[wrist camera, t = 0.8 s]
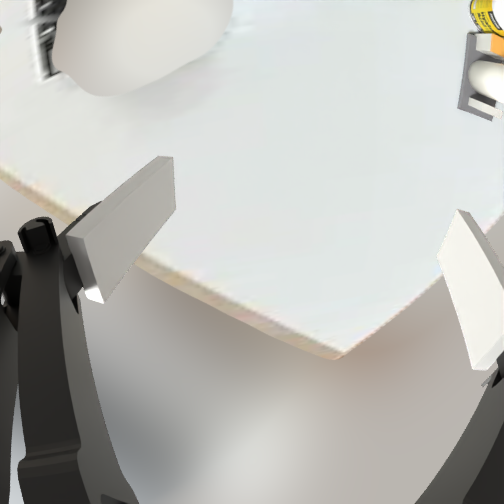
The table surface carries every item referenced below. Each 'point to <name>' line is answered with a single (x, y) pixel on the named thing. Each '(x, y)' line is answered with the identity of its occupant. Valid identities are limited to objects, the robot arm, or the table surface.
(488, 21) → the supplement bottle
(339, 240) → the table surface
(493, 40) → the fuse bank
